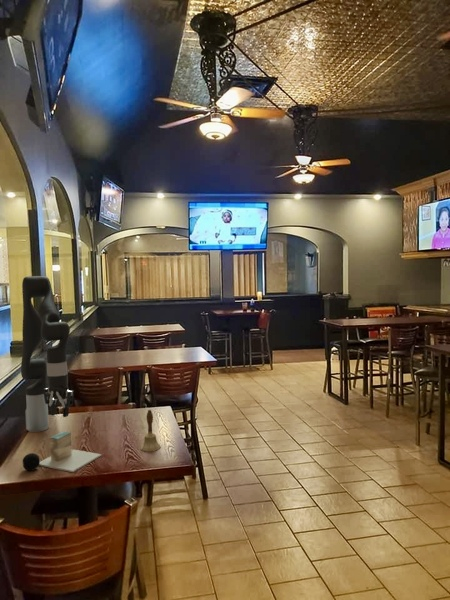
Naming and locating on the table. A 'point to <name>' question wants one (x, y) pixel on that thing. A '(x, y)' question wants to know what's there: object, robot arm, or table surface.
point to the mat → (71, 461)
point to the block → (60, 446)
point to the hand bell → (150, 436)
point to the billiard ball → (31, 461)
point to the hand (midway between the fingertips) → (59, 415)
